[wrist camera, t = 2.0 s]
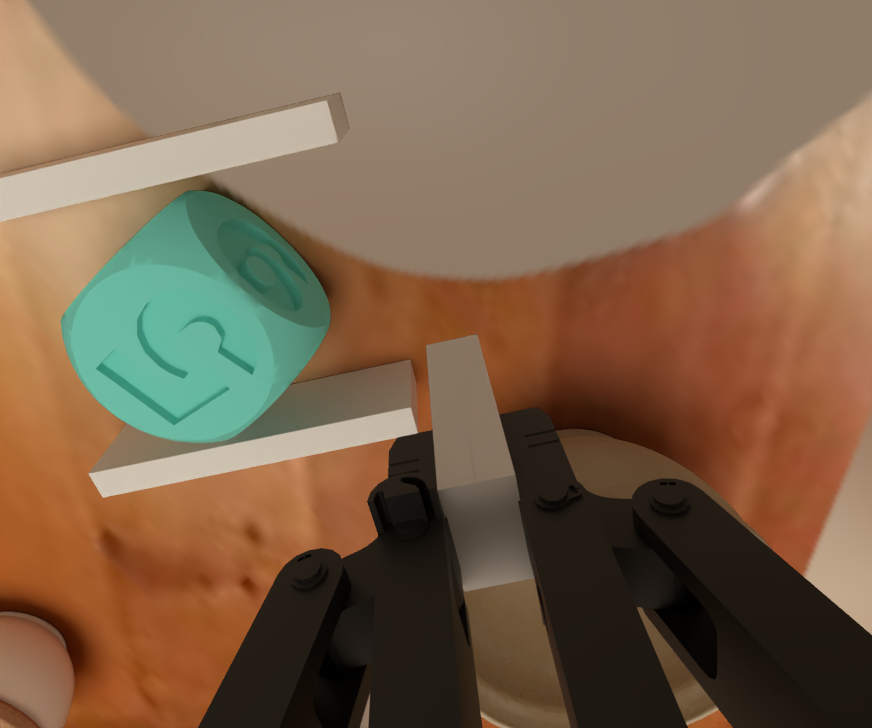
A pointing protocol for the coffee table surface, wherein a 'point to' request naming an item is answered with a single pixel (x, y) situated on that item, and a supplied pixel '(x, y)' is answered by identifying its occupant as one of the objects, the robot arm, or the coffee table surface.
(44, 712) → the lidded jar
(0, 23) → the coffee table surface
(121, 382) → the decorative dice
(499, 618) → the planter bowl
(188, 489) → the coffee table surface
